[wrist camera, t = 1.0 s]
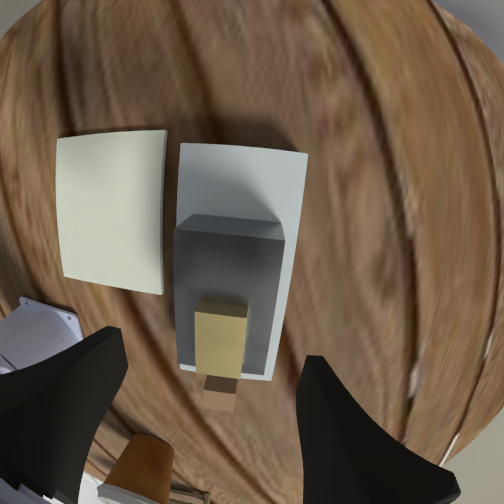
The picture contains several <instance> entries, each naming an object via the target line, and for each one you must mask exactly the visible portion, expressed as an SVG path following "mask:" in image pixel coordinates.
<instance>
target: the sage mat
mask: <svg viewBox="0 0 504 504" xmlns="http://www.w3.org/2000/svg"><path fill="white" fill-rule="evenodd" d="M166 142H167V130H147V131H126V132H112V133H100V134H91V135H82V136H74V137H67V138H60V139H57V151H56V206H57V222H58V234H59V243H60V251H61V259H62V265H63V272H64V276H65V277H69V278H74V279H78V280H83V281H88V282H93V283H98V284H103V285H108V286H113V287H118V288H124V289H129V290H135V291H141V292H147V293H153V294H159V295H162V294H163V293H164V284H163V190H164V170H165V155H166Z"/></svg>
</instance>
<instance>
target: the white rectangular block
mask: <svg viewBox="0 0 504 504" xmlns="http://www.w3.org/2000/svg"><path fill="white" fill-rule="evenodd" d="M307 158H308V154H306V153H300V152H292V151H284V150H276V149H267V148H257V147H246V146H234V145H219V144H197V143H181V146H180V159H179V173H178V191H177V215H176V227H177V226H178V225H179V224H180V223H182V222H183V221H184V220H186V219H187V218H188V217H190V216H191V215H192V214H202V215H213V216H223V217H233V218H243V219H253V220H262V221H271V222H280V223H281V224H282V228H283V232H284V237H285V247H284V254H283V261H282V268H281V275H280V281H279V288H278V294H277V301H276V307H275V313H274V319H273V325H272V331H271V337H270V343H269V349H268V355H267V360H266V366H265V371H264V375H256V374H246V373H241V377H240V378H245V379H255V380H266V381H271V380H272V375H273V370H274V365H275V360H276V355H277V350H278V345H279V340H280V335H281V330H282V324H283V319H284V314H285V308H286V302H287V297H288V291H289V285H290V279H291V273H292V267H293V261H294V254H295V248H296V241H297V235H298V228H299V221H300V214H301V206H302V199H303V191H304V183H305V175H306V167H307ZM180 369H183V370H189V371H195V372H196V367H195V366H189V365H184V364H180ZM237 384H238V379H235V378H227V377H220V376H213V375H207V378H206V382H205V386H204V408H206V409H212V410H219V411H227V412H234V407H235V399H236V392H237Z"/></svg>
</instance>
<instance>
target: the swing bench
mask: <svg viewBox="0 0 504 504" xmlns="http://www.w3.org/2000/svg"><path fill="white" fill-rule="evenodd" d="M170 492H174V493H179V494H183V495H189V496H194V497H201V498H204V504H213V503H210V493H205V495H202V494H196V493H190V492H184V491H179V490H174V489H170ZM169 504H192V503H186V502H183V501H179V500H175V499H171V498H169Z"/></svg>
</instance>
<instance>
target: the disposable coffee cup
mask: <svg viewBox="0 0 504 504" xmlns="http://www.w3.org/2000/svg"><path fill="white" fill-rule="evenodd" d="M173 457H174V450H173V448H172V447H171V446H170V445H169V444H167V443H166V442H164V441H162V440H161V439H158V438H156V437H153V436H150V435H147V434H134V435H133V436H132V438H131V440H130V441H129V443H128V445H127V446H126V448H125V449H124V451H123V453H122V454H121V456H120V457H119V459H118V461H117V462H116V464H115V465H114V467H113V469H112V470H111V472H110V473H109V475H108V477H107V478H106V480H105V481H104V483H103V484H101V485H100V486H98V487H97V490H98V498H99V500H101V501H102V502H103V503H105V504H169V493H170V484H171V475H172V466H173Z"/></svg>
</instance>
